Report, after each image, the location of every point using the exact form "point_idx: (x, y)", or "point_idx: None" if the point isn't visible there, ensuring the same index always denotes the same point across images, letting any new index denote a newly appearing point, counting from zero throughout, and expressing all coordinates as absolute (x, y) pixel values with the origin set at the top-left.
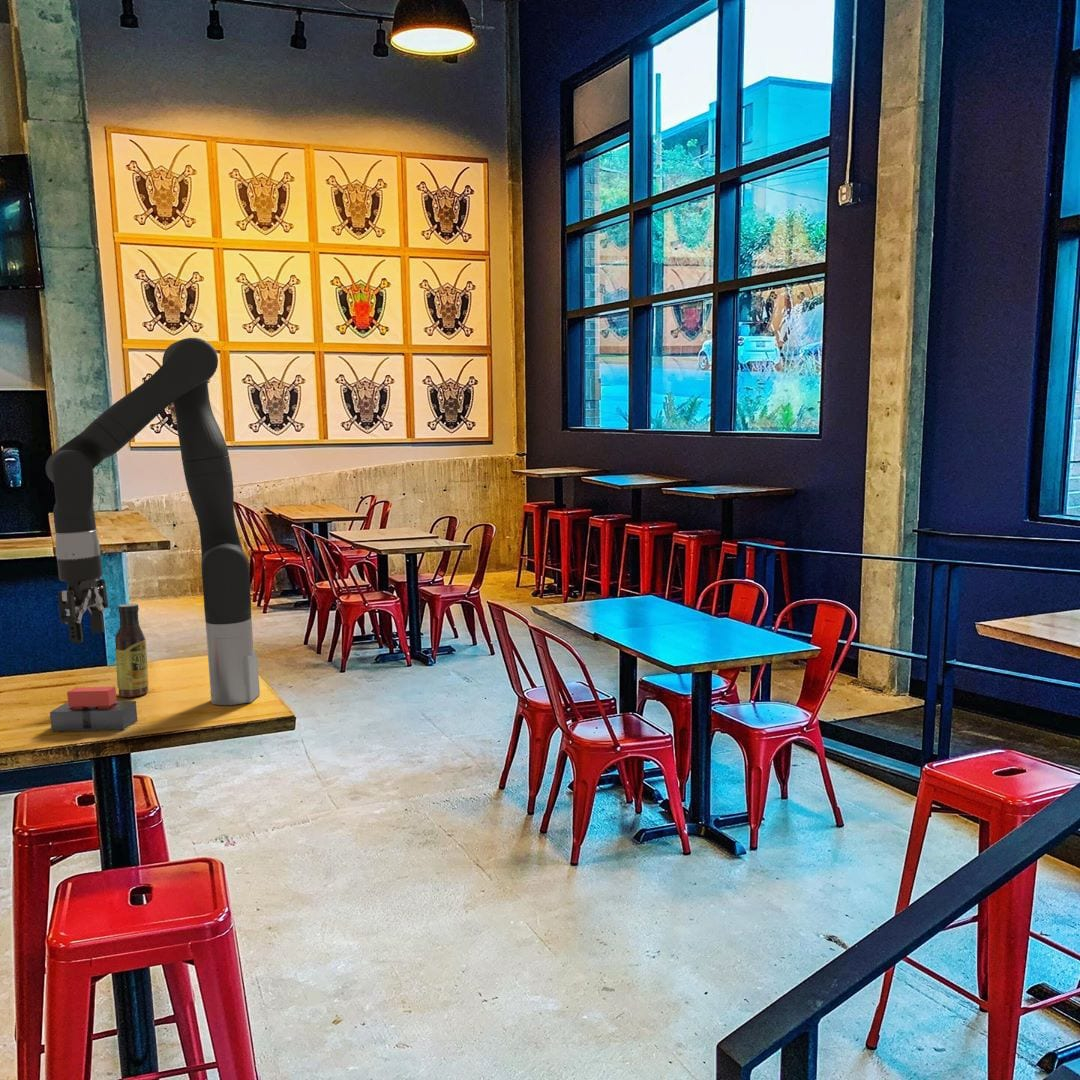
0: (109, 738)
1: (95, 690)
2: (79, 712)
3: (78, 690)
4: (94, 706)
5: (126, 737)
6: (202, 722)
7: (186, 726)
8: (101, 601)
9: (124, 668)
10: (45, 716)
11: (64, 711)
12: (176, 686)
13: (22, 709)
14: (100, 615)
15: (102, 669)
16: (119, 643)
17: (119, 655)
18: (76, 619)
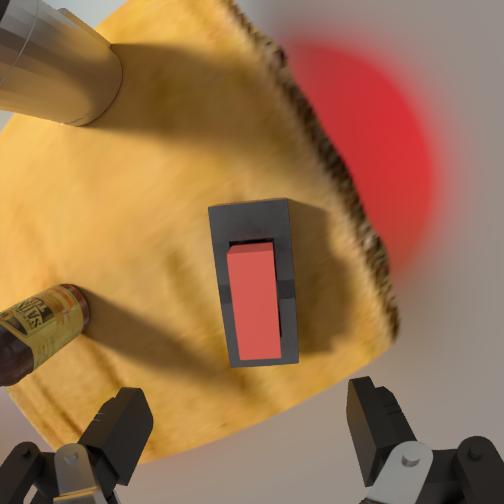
0: (335, 201)
1: (269, 290)
2: (294, 302)
3: (268, 336)
4: None
5: (328, 167)
6: (225, 60)
7: (252, 77)
8: (67, 502)
9: (57, 332)
10: (205, 397)
11: (296, 336)
12: (27, 251)
13: (177, 438)
14: (104, 446)
15: (16, 397)
16: (23, 366)
17: (41, 354)
18: (431, 463)
